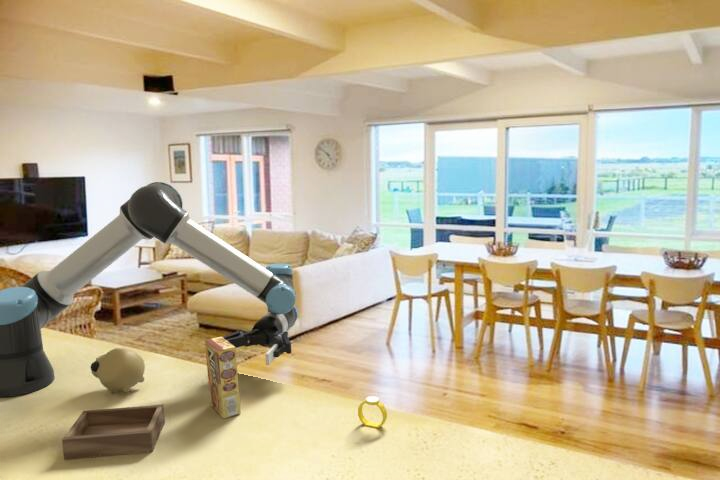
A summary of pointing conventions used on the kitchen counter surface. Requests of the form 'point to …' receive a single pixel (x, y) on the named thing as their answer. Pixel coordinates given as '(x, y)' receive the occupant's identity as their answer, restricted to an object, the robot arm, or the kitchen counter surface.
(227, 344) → the candy box
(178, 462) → the kitchen counter surface
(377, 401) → the gold gem ring
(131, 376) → the round plush toy
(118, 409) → the tray
